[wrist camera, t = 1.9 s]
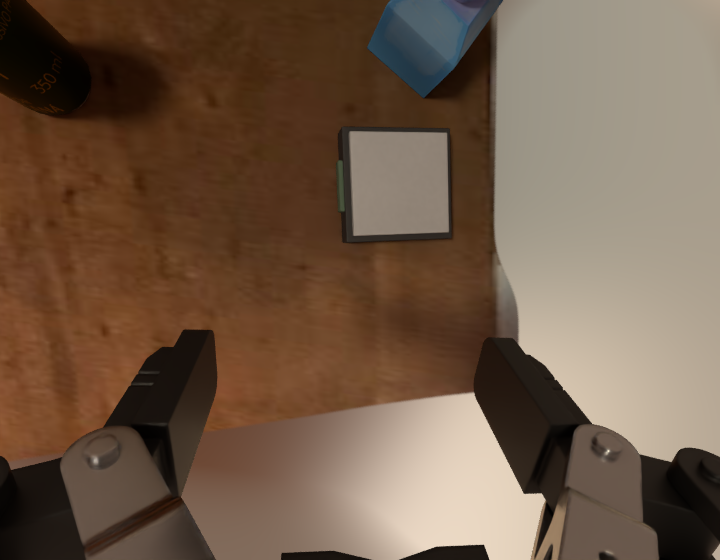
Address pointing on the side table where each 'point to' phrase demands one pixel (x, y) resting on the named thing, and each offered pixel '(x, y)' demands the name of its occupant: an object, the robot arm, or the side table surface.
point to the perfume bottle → (428, 37)
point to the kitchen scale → (394, 183)
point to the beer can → (39, 62)
